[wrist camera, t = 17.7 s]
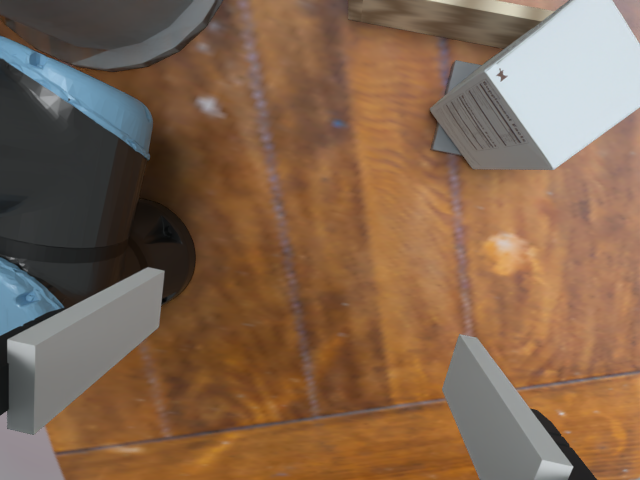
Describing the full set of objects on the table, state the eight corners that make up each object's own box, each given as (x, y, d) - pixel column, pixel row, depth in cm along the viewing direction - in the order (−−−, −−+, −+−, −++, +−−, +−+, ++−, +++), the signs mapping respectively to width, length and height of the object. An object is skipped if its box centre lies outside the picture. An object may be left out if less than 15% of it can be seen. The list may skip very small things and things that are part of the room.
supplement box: (472, 171, 43) (550, 176, 26) (426, 109, 42) (478, 73, 25) (543, 118, 41) (675, 87, 24) (497, 52, 40) (602, -28, 23)
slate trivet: (430, 149, 44) (432, 149, 42) (452, 63, 41) (455, 60, 40) (511, 165, 43) (515, 165, 42) (537, 79, 41) (543, 76, 40)
